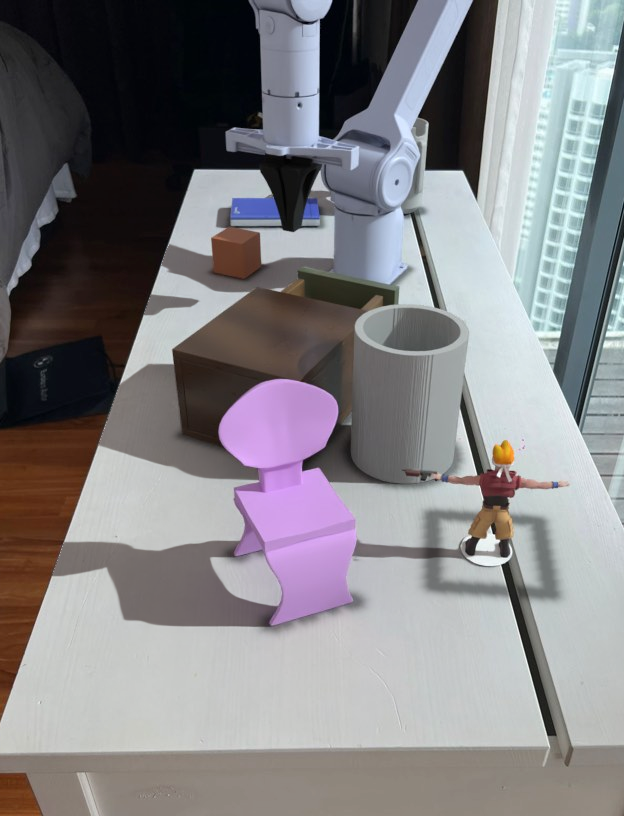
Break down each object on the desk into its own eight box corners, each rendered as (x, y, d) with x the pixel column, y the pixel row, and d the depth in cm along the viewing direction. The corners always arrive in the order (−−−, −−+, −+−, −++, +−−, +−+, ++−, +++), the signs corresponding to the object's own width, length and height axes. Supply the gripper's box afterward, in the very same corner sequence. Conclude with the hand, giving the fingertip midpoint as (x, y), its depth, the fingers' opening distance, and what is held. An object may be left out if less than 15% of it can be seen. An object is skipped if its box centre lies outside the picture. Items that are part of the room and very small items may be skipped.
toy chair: (259, 635, 57) (247, 452, 48) (220, 557, 64) (203, 381, 54) (369, 602, 60) (379, 423, 50) (322, 531, 66) (322, 358, 57)
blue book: (230, 216, 116) (319, 215, 117) (232, 196, 122) (317, 196, 123) (230, 227, 117) (319, 227, 118) (232, 207, 123) (316, 207, 124)
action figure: (395, 558, 64) (403, 456, 58) (396, 534, 66) (404, 433, 60) (554, 569, 63) (579, 466, 57) (550, 544, 66) (573, 443, 60)
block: (231, 260, 108) (229, 226, 105) (261, 267, 107) (260, 232, 104) (213, 272, 105) (210, 237, 102) (244, 279, 104) (242, 243, 101)
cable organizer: (379, 190, 131) (383, 106, 123) (433, 213, 123) (441, 124, 116) (345, 199, 127) (347, 112, 120) (399, 222, 120) (405, 132, 112)
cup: (335, 437, 77) (337, 314, 69) (423, 418, 79) (434, 297, 72) (377, 493, 70) (385, 363, 63) (472, 469, 73) (490, 343, 65)
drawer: (320, 311, 95) (320, 252, 90) (410, 332, 91) (415, 271, 87) (240, 381, 82) (236, 316, 78) (341, 407, 79) (342, 341, 75)
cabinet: (260, 366, 87) (257, 286, 81) (368, 393, 83) (371, 311, 77) (181, 435, 76) (171, 349, 71) (300, 469, 73) (298, 381, 67)
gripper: (206, 90, 83) (216, 228, 92) (340, 108, 79) (336, 252, 87) (242, 77, 88) (247, 209, 97) (369, 94, 84) (363, 231, 92)
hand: (292, 228), depth 92 cm, fingers closed
